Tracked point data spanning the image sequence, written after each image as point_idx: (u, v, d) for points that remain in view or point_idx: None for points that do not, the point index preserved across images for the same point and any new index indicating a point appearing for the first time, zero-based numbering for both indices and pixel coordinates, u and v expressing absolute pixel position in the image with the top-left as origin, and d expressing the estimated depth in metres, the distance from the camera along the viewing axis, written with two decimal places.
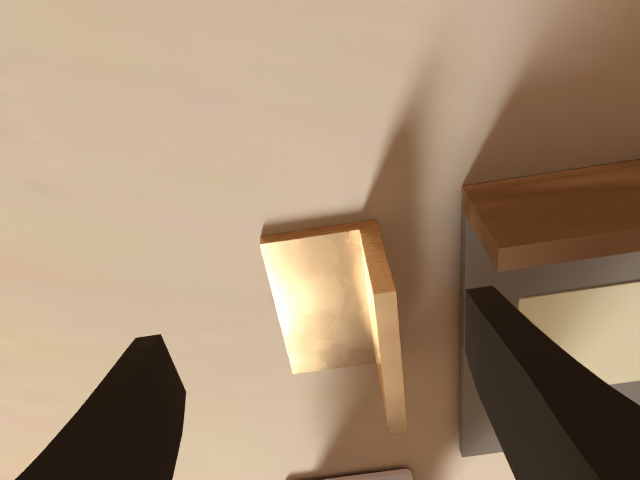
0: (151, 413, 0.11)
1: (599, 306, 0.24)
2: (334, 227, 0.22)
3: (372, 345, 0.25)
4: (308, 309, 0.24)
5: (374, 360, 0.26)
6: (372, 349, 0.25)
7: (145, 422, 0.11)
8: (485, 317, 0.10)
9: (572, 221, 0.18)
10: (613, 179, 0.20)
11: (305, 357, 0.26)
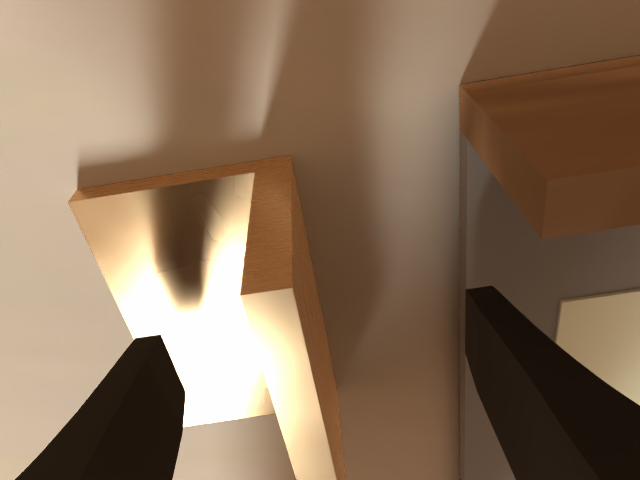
0: (151, 413, 0.11)
1: None
2: (211, 170, 0.12)
3: None
4: (183, 322, 0.14)
5: None
6: None
7: (145, 423, 0.11)
8: (485, 317, 0.10)
9: None
10: None
11: (193, 402, 0.15)
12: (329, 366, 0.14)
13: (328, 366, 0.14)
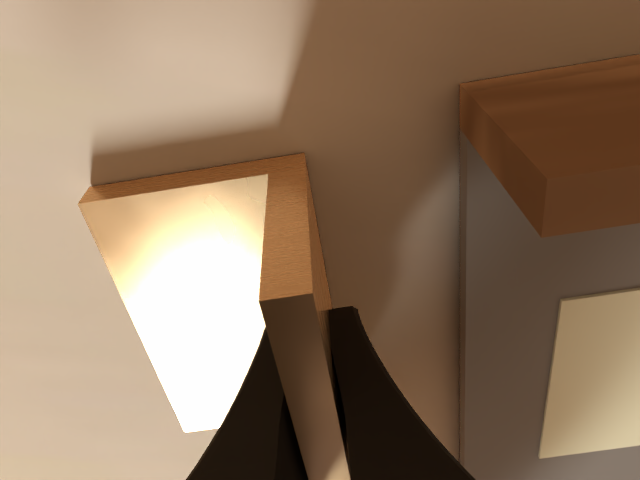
0: None
1: None
2: (223, 171, 0.12)
3: None
4: (193, 326, 0.13)
5: None
6: None
7: None
8: None
9: None
10: None
11: (202, 407, 0.15)
12: None
13: None
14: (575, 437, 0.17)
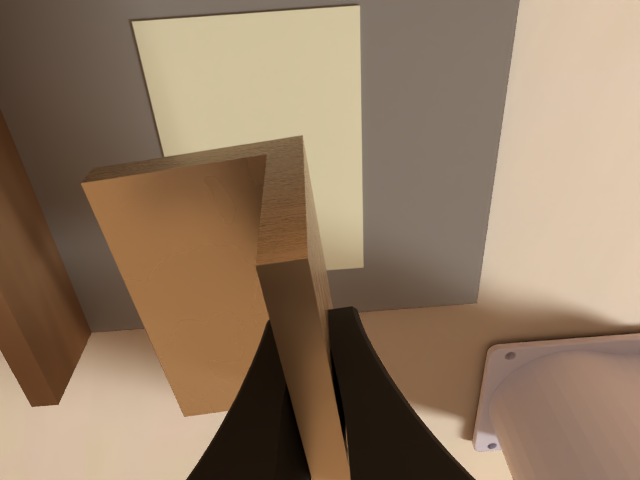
0: None
1: None
2: (223, 153, 0.12)
3: None
4: (193, 308, 0.14)
5: None
6: None
7: None
8: None
9: None
10: None
11: (201, 391, 0.15)
12: None
13: None
14: (340, 247, 0.21)
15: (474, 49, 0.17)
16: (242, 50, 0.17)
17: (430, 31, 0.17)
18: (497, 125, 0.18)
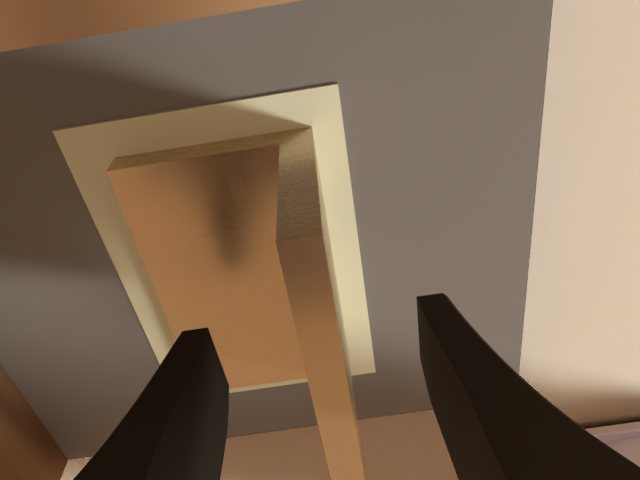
0: (202, 406, 0.11)
1: None
2: (238, 142, 0.13)
3: None
4: (208, 289, 0.14)
5: None
6: None
7: (198, 415, 0.11)
8: (430, 325, 0.10)
9: None
10: None
11: None
12: (344, 332, 0.15)
13: (343, 331, 0.15)
14: None
15: (492, 120, 0.13)
16: None
17: (432, 104, 0.13)
18: (528, 205, 0.15)
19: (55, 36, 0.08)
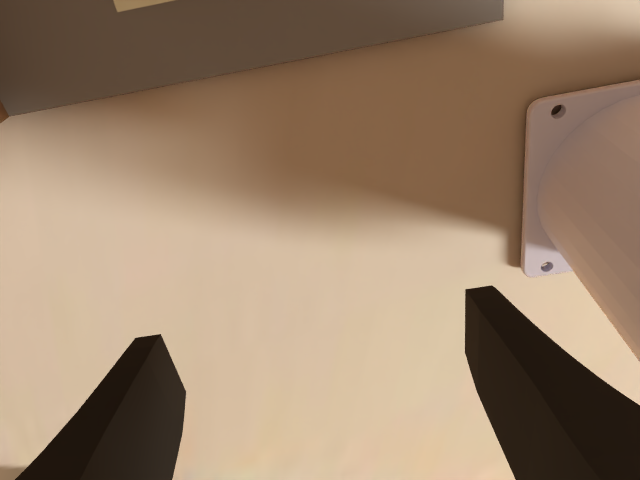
0: (151, 413, 0.11)
1: None
2: None
3: None
4: None
5: None
6: None
7: (145, 423, 0.11)
8: (485, 317, 0.10)
9: None
10: None
11: None
12: None
13: None
14: None
15: None
16: None
17: None
18: None
19: None
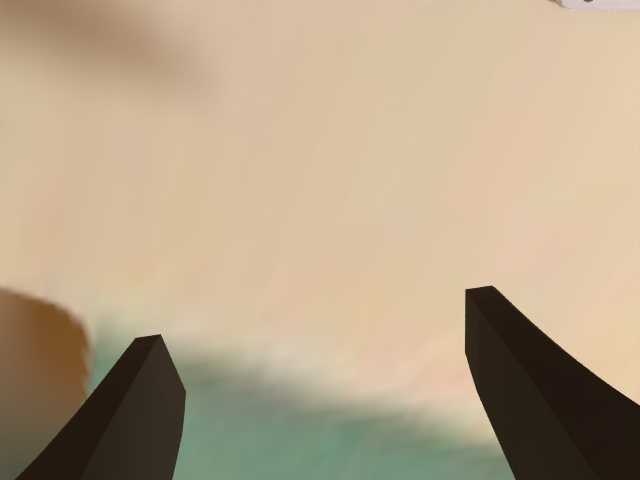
0: (151, 413, 0.11)
1: None
2: None
3: None
4: None
5: None
6: None
7: (145, 423, 0.11)
8: (485, 317, 0.10)
9: None
10: None
11: None
12: None
13: None
14: None
15: None
16: None
17: None
18: None
19: None
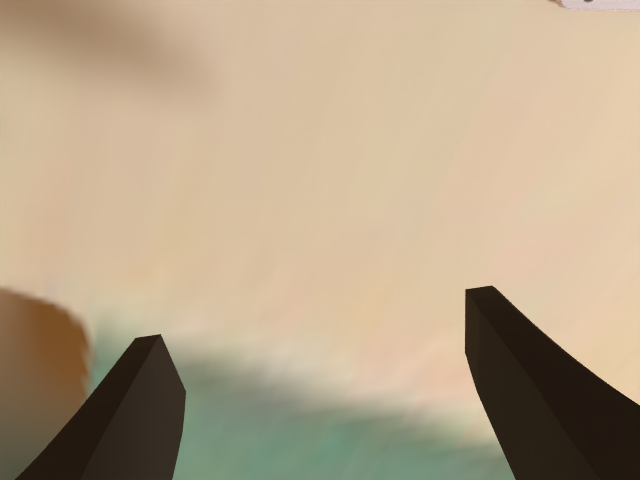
0: (151, 413, 0.11)
1: None
2: None
3: None
4: None
5: None
6: None
7: (145, 423, 0.11)
8: (485, 317, 0.10)
9: None
10: None
11: None
12: None
13: None
14: None
15: None
16: None
17: None
18: None
19: None
